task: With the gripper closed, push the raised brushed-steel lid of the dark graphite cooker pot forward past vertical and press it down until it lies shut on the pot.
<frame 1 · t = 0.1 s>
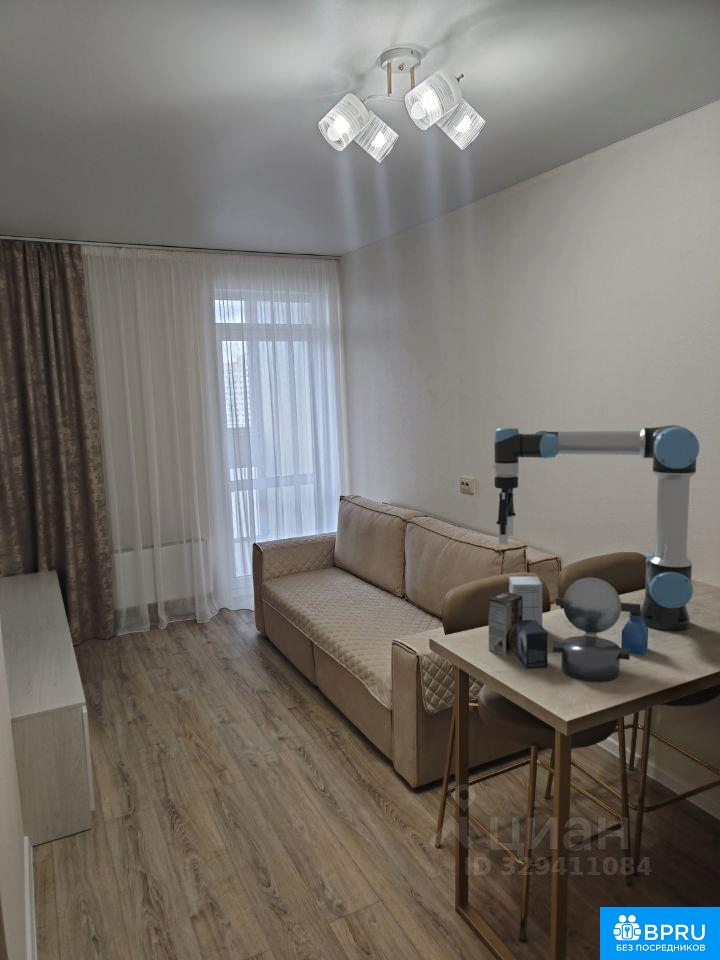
hand: (506, 539, 216), 28 cm above the table, fingers open, 13 cm apart
coffee box: (505, 649, 196), on the table
perfume bottle: (634, 650, 193), on the table
pot: (590, 670, 180), on the table
supplement box: (525, 631, 211), on the table
lid: (597, 606, 187), point 15 cm above the table, hinge at 98.0°
small box: (530, 661, 187), on the table
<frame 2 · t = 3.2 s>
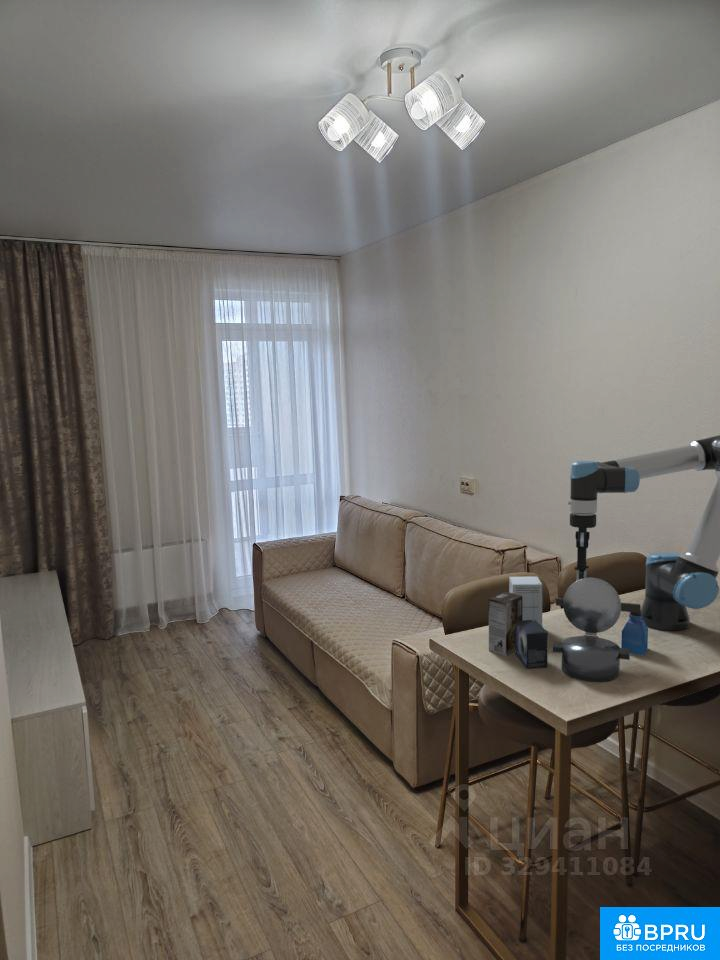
hand: (581, 590, 198), 16 cm above the table, fingers closed
nothing on the table moved.
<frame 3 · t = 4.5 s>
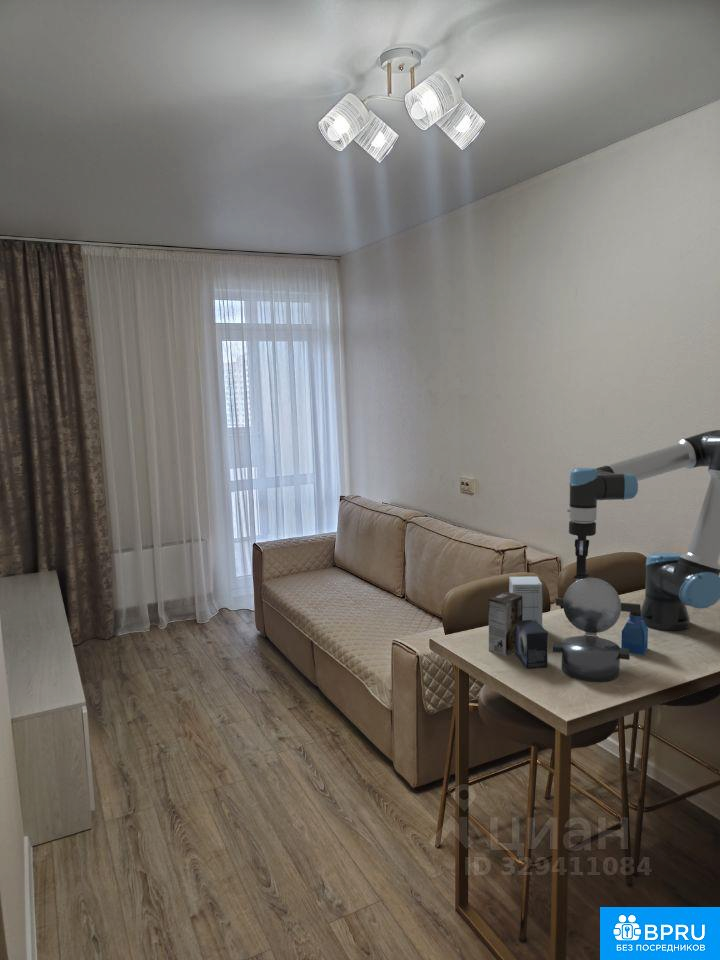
hand: (580, 599, 195), 15 cm above the table, fingers closed
nothing on the table moved.
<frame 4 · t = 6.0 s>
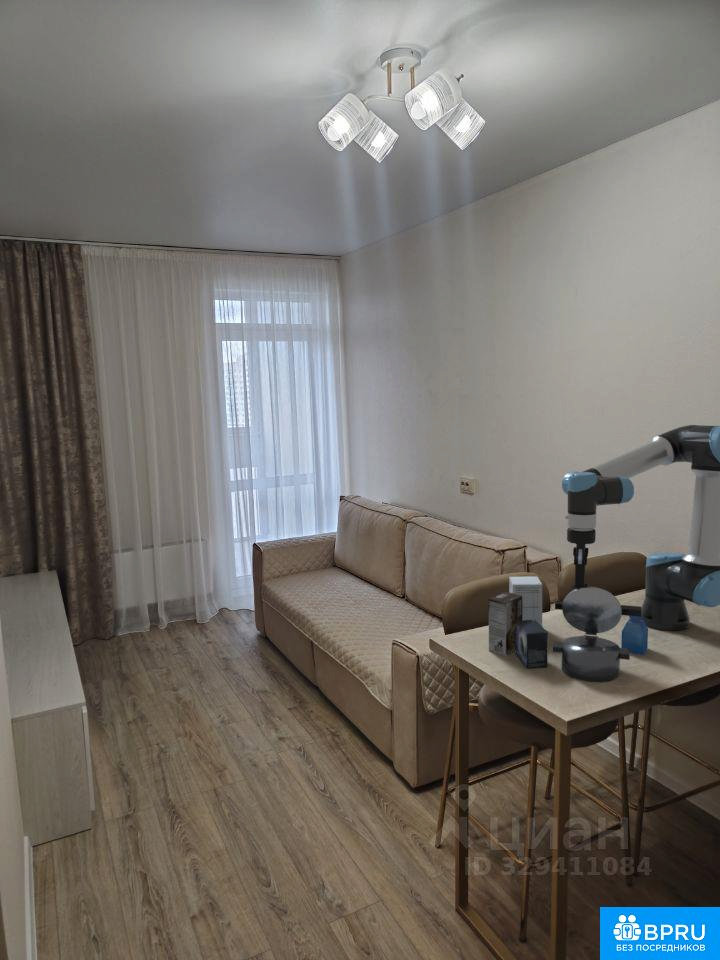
hand: (579, 609, 186), 14 cm above the table, fingers closed
lid: (597, 609, 183), point 15 cm above the table, hinge at 69.4°, touching gripper
everything else where it was.
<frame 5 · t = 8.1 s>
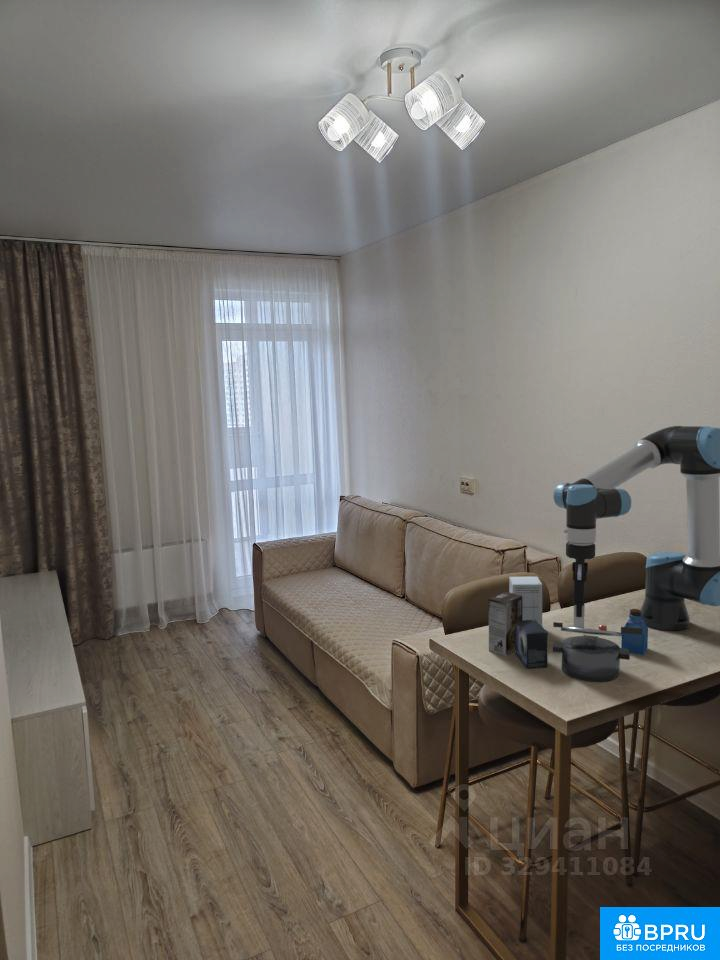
hand: (578, 627, 179), 12 cm above the table, fingers closed
lid: (596, 629, 179), point 11 cm above the table, hinge at 21.7°, touching gripper
everything else where it was.
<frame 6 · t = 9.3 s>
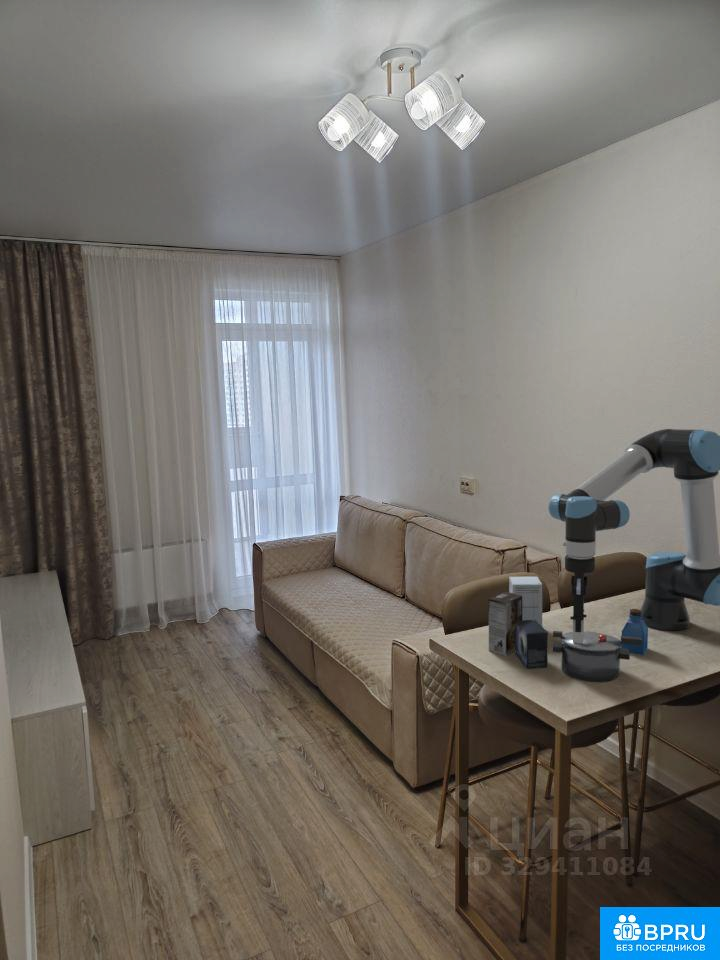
hand: (577, 642, 175), 9 cm above the table, fingers closed
lid: (596, 638, 178), point 9 cm above the table, hinge at 4.4°, touching gripper
everything else where it was.
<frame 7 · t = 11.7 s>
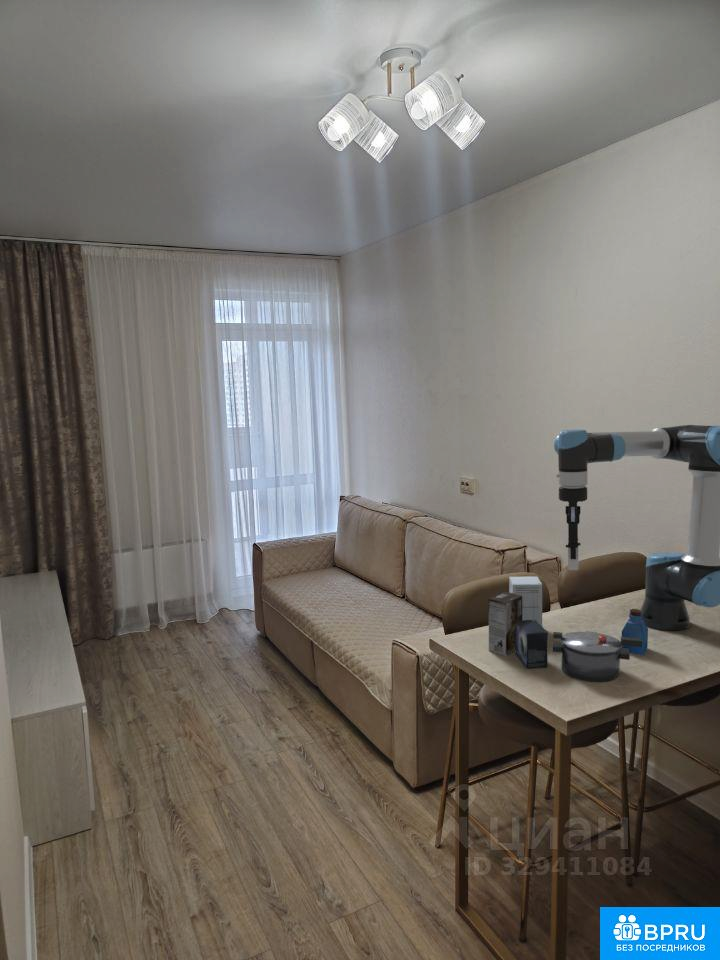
hand: (573, 569, 184), 26 cm above the table, fingers closed
lid: (596, 639, 178), point 9 cm above the table, hinge at 2.3°
everything else where it was.
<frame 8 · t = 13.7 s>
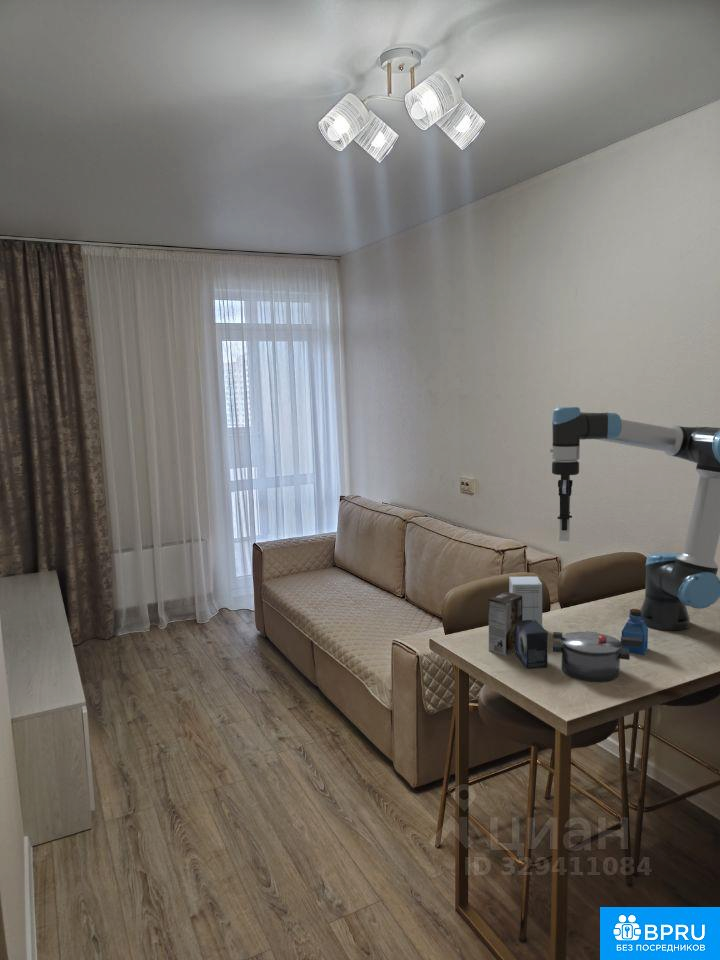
hand: (564, 540, 193), 32 cm above the table, fingers closed
nothing on the table moved.
at the end: lid at +2° (first picture: +98°) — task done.
